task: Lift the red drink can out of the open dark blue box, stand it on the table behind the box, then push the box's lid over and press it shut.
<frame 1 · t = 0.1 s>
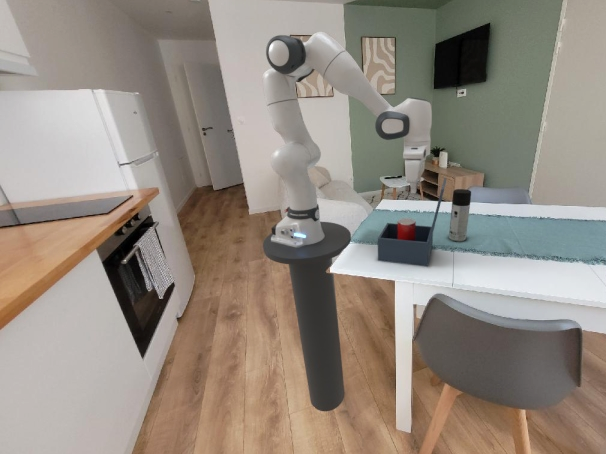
hand: (415, 189, 103), 23 cm above the table, tool pointing down, fingers open, 8 cm apart
spray can: (457, 238, 118), on the table
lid: (437, 209, 98), point 18 cm above the table, hinge at 100.0°
can: (405, 251, 108), point 1 cm above the table, touching dark blue box
dark blue box: (405, 253, 108), on the table
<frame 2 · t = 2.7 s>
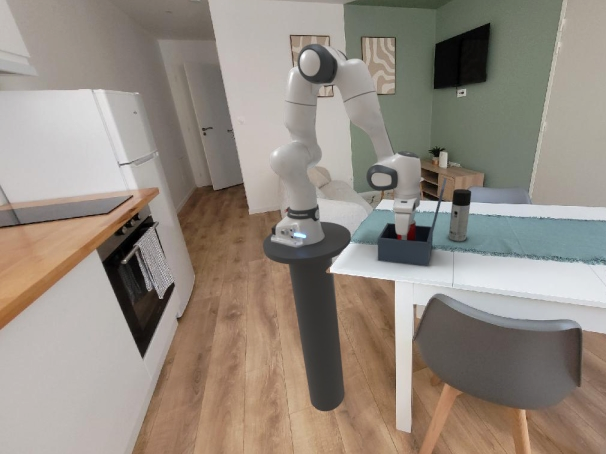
hand: (406, 236, 105), 7 cm above the table, tool pointing down, fingers closed on can, 6 cm apart
can: (405, 251, 108), point 1 cm above the table, touching dark blue box, gripper
everything else where it was.
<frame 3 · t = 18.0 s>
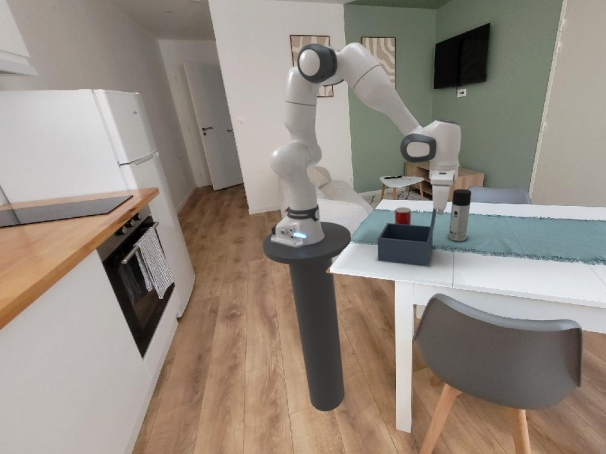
hand: (440, 213, 98), 17 cm above the table, tool pointing down, fingers closed, pressing on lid
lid: (435, 208, 98), point 18 cm above the table, hinge at 95.3°, touching gripper
can: (402, 237, 121), on the table
everything else where it was.
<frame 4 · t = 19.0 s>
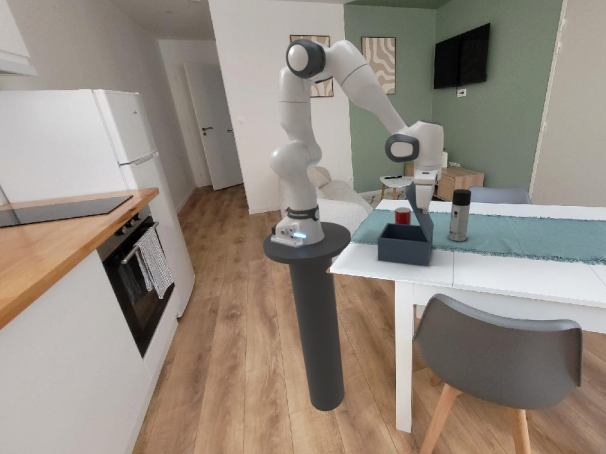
hand: (425, 212, 100), 17 cm above the table, tool pointing down, fingers closed, pressing on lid
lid: (420, 210, 100), point 18 cm above the table, hinge at 64.1°, touching gripper
everything else where it was.
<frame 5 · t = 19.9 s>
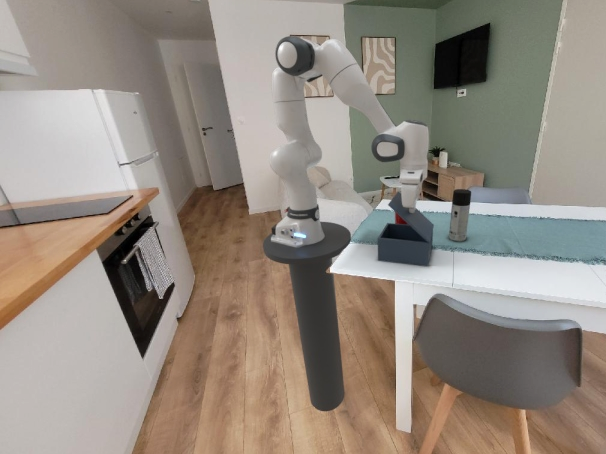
hand: (412, 211, 101), 17 cm above the table, tool pointing down, fingers closed, pressing on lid
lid: (412, 215, 102), point 15 cm above the table, hinge at 42.1°, touching gripper
everything else where it was.
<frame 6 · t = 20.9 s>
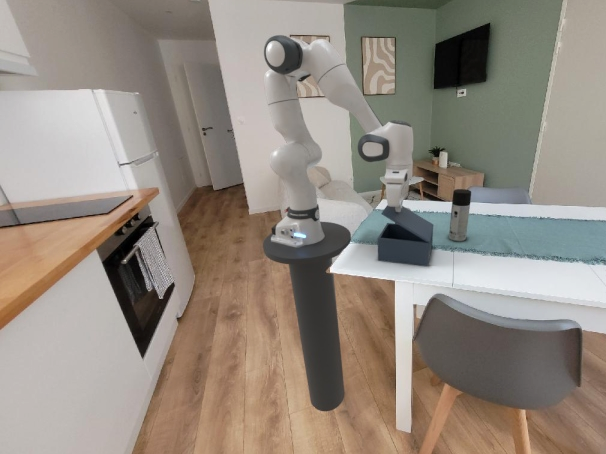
hand: (398, 210, 102), 17 cm above the table, tool pointing down, fingers closed, pressing on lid
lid: (408, 219, 103), point 14 cm above the table, hinge at 29.4°, touching gripper
everything else where it was.
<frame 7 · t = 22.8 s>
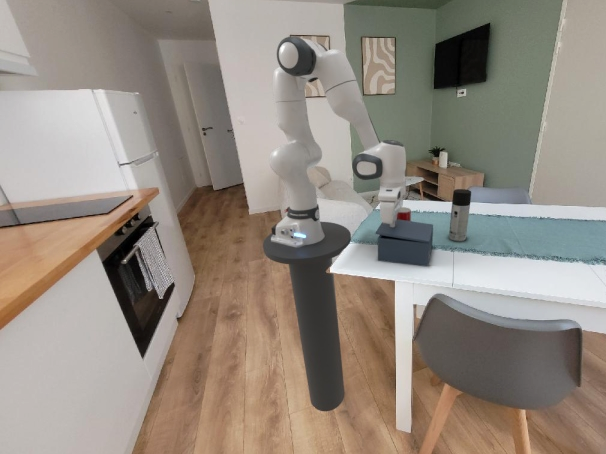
hand: (393, 225, 105), 11 cm above the table, tool pointing down, fingers closed
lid: (405, 229, 104), point 10 cm above the table, hinge at 4.4°
everything else where it was.
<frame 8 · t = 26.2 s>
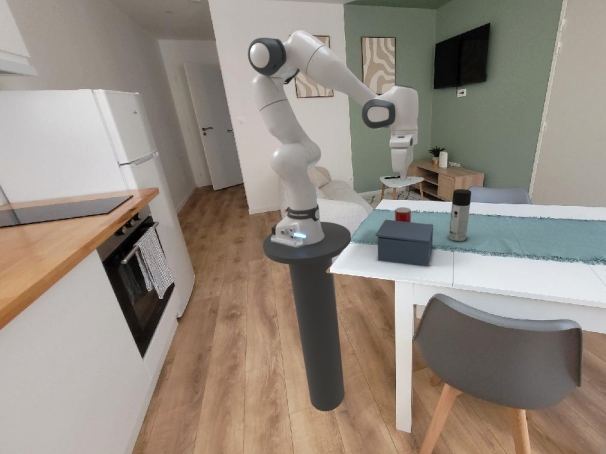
hand: (403, 179, 102), 27 cm above the table, tool pointing down, fingers closed
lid: (405, 230, 105), point 10 cm above the table, hinge at 1.7°
everything else where it was.
at the end: can inside the target area (0.1 cm from its centre), on the table; can tilted 0°; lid at +2° (first picture: +100°) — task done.
